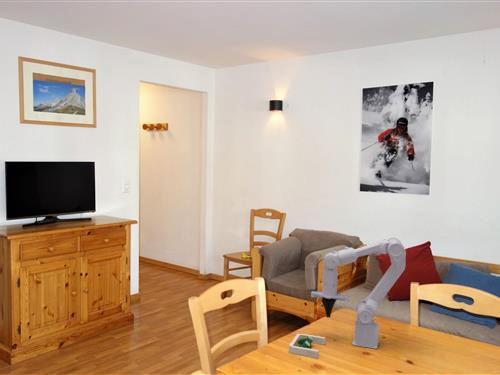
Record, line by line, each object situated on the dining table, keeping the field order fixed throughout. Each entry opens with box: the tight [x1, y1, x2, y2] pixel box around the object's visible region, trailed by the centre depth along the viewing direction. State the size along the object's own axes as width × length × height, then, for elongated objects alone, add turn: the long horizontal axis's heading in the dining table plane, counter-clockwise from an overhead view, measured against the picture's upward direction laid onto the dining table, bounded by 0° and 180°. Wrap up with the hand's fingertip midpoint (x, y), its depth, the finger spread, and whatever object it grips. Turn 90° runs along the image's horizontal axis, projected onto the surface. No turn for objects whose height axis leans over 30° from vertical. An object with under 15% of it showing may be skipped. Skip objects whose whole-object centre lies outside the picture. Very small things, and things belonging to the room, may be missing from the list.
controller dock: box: [288, 333, 326, 359], centre depth 173 cm, size 11×14×2 cm
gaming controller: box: [297, 336, 313, 349], centre depth 173 cm, size 9×4×6 cm
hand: (328, 316), depth 182 cm, fingers closed
